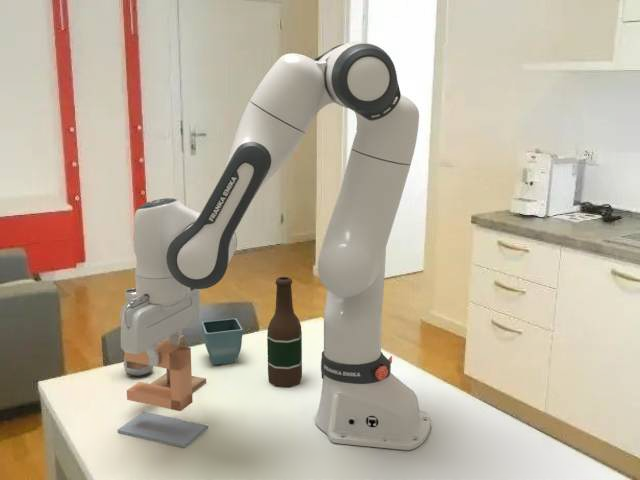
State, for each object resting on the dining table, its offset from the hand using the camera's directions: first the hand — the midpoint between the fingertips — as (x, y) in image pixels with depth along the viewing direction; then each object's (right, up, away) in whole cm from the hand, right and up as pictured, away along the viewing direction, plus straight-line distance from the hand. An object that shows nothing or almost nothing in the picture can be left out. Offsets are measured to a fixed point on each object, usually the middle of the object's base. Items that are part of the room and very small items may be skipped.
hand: (164, 358), depth 122 cm
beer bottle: (+21, -10, +26) cm, 35 cm away
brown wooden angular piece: (-5, -11, +18) cm, 22 cm away
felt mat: (-1, -14, +4) cm, 15 cm away
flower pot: (+5, -7, +37) cm, 38 cm away
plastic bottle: (-13, -9, +29) cm, 33 cm away
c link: (-1, -8, +3) cm, 9 cm away
